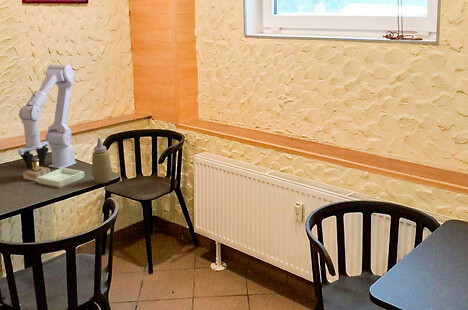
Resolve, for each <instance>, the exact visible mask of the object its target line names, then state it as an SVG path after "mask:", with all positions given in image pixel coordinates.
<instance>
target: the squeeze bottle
mask: <svg viewBox="0 0 468 310" xmlns="http://www.w3.org/2000/svg"><path fill="white" fill-rule="evenodd" d="M93 151H94V152H92V155H91V156H92V157H91V175H92V177H93V180H94V181H95V183H97V184H105V183H106V184H107V183H110V181H111V178H112V175H113V170H112V164H111V158H110V152H108V151H107V147H106V146H105V145H103V141H102V138H101V137H99V138H97V142H96V146H94V148H93Z"/></svg>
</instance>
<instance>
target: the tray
mask: <svg viewBox="0 0 468 310" xmlns="http://www.w3.org/2000/svg"><path fill="white" fill-rule="evenodd" d="M84 178H86V177H85V171H84V170H77V169H71V168H68V167H66V168H60V169H59V168H56V169H55V170H53V171H50V173H47V174H44V175H42V176H39V177H37V181H36V182H37V184H39V185H44V186H49V187H54V188H60V189H61V188H63V187H65V186H68V185H70V184H73V183H75V182H78V181H79V180H81V179H84Z"/></svg>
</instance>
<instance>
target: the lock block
mask: <svg viewBox="0 0 468 310" xmlns="http://www.w3.org/2000/svg"><path fill="white" fill-rule="evenodd" d="M39 170H40V171H38V172H34V171H33V169H32V170H30V169H26V170H24V171H22V176H23V180H30V181H34V182H38V181H37V177H39V176H42V175H44V174H47V173H50V172H51V169H50V168H49V167H43V166H39Z"/></svg>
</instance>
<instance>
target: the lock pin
mask: <svg viewBox="0 0 468 310" xmlns="http://www.w3.org/2000/svg"><path fill="white" fill-rule="evenodd" d="M32 165H33V171H34V172H38V171H40V170H39V167H40V164H39V158H38V157H33V158H32Z"/></svg>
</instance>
